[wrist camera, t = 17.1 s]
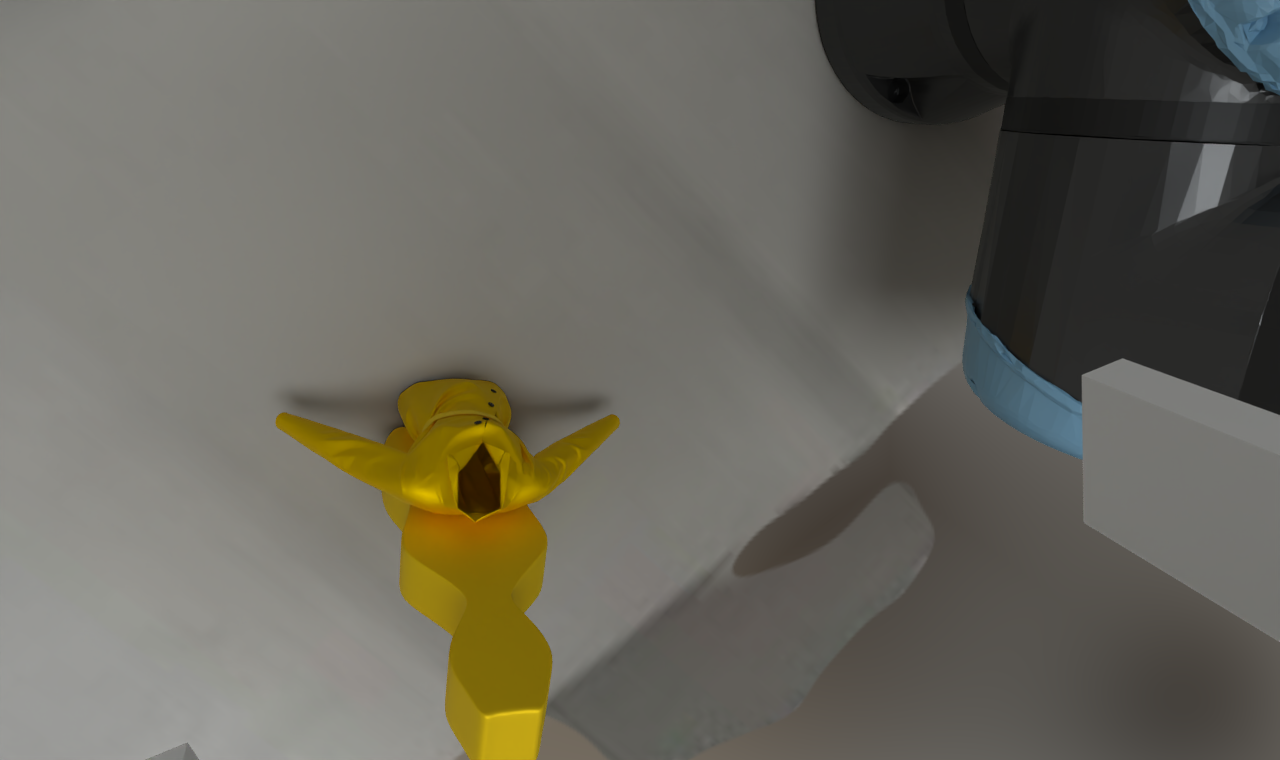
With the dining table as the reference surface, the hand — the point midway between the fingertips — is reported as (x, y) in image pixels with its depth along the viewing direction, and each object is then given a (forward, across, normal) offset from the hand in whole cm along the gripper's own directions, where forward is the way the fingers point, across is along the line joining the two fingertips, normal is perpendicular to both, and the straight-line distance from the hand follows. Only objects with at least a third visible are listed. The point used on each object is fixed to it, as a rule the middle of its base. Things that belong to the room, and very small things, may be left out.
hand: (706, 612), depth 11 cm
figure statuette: (+35, +4, +11) cm, 37 cm away
